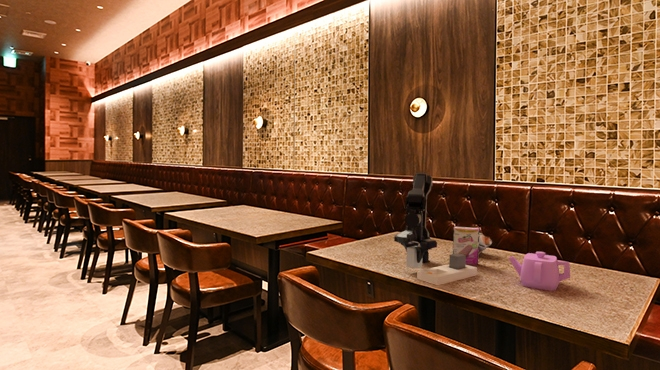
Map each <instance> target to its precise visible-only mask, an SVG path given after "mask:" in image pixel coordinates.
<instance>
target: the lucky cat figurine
mask: <svg viewBox="0 0 660 370" xmlns="http://www.w3.org/2000/svg"><path fill="white" fill-rule="evenodd" d="M492 243H493V240H492V239H491V237H490V236H486V235H484V234H483V233H481V232H479V255H480V254H481V253H482V252H484V251H485V250H486V249H487V248H489V247H490V246H491V245H492Z"/></svg>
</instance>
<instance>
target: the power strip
mask: <svg viewBox="0 0 660 370" xmlns="http://www.w3.org/2000/svg"><path fill="white" fill-rule="evenodd" d="M475 276H478V267H476V266H472V265H470V264H465V268H464V269H459V270H457V269H453V268H449V263H448V264H444V265H439V266H435V267H430V268H429V267H428V268H426V269H420V270H417V272H416V279H417V280H420V281H422V282H426V283H429V284H432V285H436V286H441V285H444V284H448V283H452V282H457V281H459V280H463V279H467V278H471V277H475Z"/></svg>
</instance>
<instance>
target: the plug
mask: <svg viewBox="0 0 660 370" xmlns="http://www.w3.org/2000/svg"><path fill="white" fill-rule="evenodd" d="M415 247H418V246H411V247H407V252H406V267H407V268H410V269H418V268H422V267H423V263H422V259H421V261H420V263H417V250H416V248H415Z"/></svg>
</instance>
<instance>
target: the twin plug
mask: <svg viewBox="0 0 660 370" xmlns="http://www.w3.org/2000/svg"><path fill="white" fill-rule="evenodd" d="M465 263H466V255H463V254H459V253H456V254H453V253H451V254H449V263H448V264H449V268H453V269H457V270H459V269H464V268H465V265H466V264H465Z"/></svg>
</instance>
